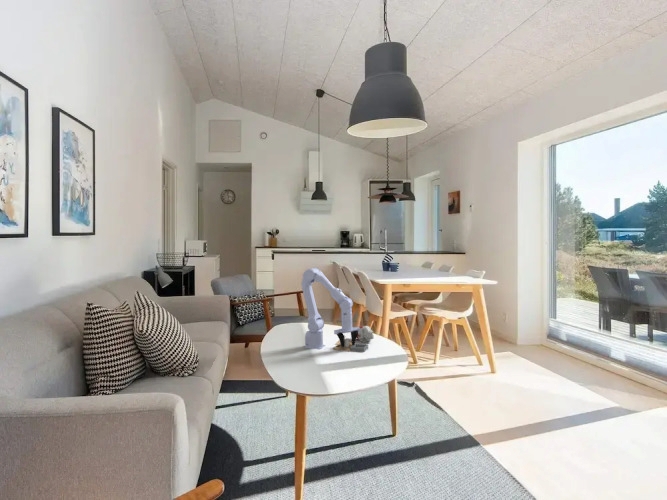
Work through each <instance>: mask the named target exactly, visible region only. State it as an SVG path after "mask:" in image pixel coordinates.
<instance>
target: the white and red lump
mask: <svg viewBox="0 0 667 500" xmlns="http://www.w3.org/2000/svg"><path fill="white" fill-rule="evenodd" d="M359 328H360V331H357V332H358V335H357V338H356V339H357V340H359V341H360V342H362V343H363V342H365V343H369V342H370V341H372V340H373V339H374V334H373V333H374V331H373V330H372V329H371V327H370V326H368V325H363V326H359Z"/></svg>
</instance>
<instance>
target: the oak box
mask: <svg viewBox="0 0 667 500" xmlns="http://www.w3.org/2000/svg"><path fill="white" fill-rule="evenodd" d="M351 346H353V345H352V344H350V348H341V347H340V344H338V345H336V346H334V347H333V349H334V350H335V351H336V350H337V351H343V352H344V351H346V352H347V351H348V352H350V351H351ZM351 352H352V351H351Z"/></svg>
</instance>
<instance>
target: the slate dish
mask: <svg viewBox="0 0 667 500" xmlns="http://www.w3.org/2000/svg"><path fill="white" fill-rule="evenodd" d="M367 350H369V344H368V343H367V344H363V343H356V342H355V345H353V346H351V352H360V353H364V352H366V351H367Z"/></svg>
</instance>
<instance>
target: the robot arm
mask: <svg viewBox="0 0 667 500" xmlns="http://www.w3.org/2000/svg"><path fill="white" fill-rule="evenodd" d="M315 282H318V283H320V284H321V285H323V286H324V288H325V289H326V290H328V291H329V292H330V297H332V298H333V299H334V301H336V303H337V304H338V305H339V308H340V310H341V314H340V315H341V316H340V317H341V328H339V329H335V330H333V333H334V335H336V336H337V338H338V341H339V340H340V343H341V346H342V347H344V336H345V334H347V333H350V336H351V337H350V339H351V341H352V345H355V343H356V340H357V339H358V338H357V335H358V332H357V331H360V328H359V327H360V326H359V327H358V326H356V327H353V312H352V311H353V310H352V307H353V306H354V302H353V300H352V298H351V297H349V296H347V295H345V294H344V292H343V291H342V289H341V288H338V287H335V286H334V285H333V284H332V282H331V281H330V280H329V279H328V278H327V276H326V275H325V274H324V272H323V271H321V270H320V269H319V268H318V267H313V268H307V269H305V270H304V272H302V280H301V283H300V284H301V289H302V293H303V297H304V300H305V306H306V309H307V313H308V317H307V318H308V319H307V329H308V330H307V331H306V332H305V335H304V344H305V345H304V349H313V350H321V349H322V348H324V347H326V344H324V339H323V338H324V335H323V334H324V333H323V331H324V330H323V329H324V326H325V321H324V319H322V316H321V314H320V313H319V312H318V307H317V304H316V299H315V295H314V290H313V287H312V285H313V284H314V283H315Z"/></svg>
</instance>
